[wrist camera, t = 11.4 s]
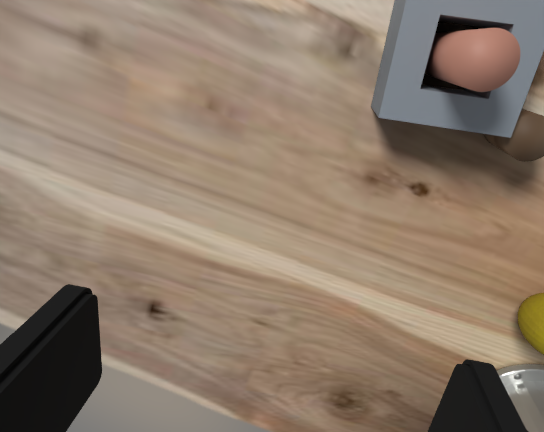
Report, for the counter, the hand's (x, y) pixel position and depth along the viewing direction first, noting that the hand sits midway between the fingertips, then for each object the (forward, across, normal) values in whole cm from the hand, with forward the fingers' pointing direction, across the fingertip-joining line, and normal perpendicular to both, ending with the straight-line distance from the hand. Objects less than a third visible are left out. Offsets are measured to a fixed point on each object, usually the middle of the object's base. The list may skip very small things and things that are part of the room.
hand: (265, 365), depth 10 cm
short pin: (+30, -17, -3) cm, 35 cm away
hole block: (+30, -10, -8) cm, 33 cm away
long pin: (+30, -10, -8) cm, 33 cm away
